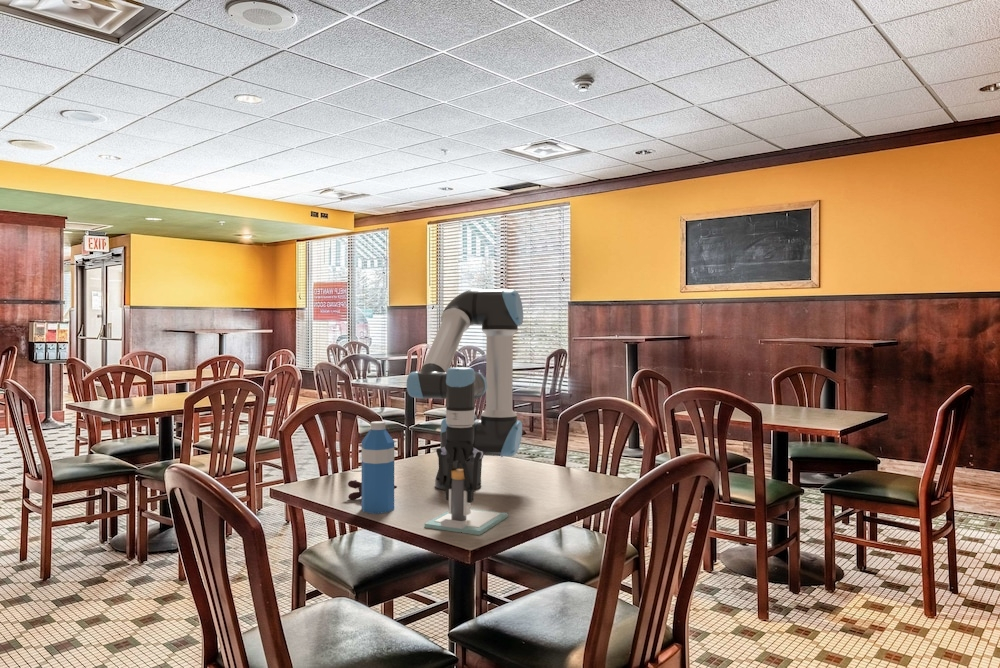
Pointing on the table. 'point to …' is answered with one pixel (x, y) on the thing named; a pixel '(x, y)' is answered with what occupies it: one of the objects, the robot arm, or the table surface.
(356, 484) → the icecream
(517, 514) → the table surface
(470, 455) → the robot arm
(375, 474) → the water bottle
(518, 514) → the table surface
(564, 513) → the table surface
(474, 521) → the clipboard
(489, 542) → the table surface
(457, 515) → the marker
